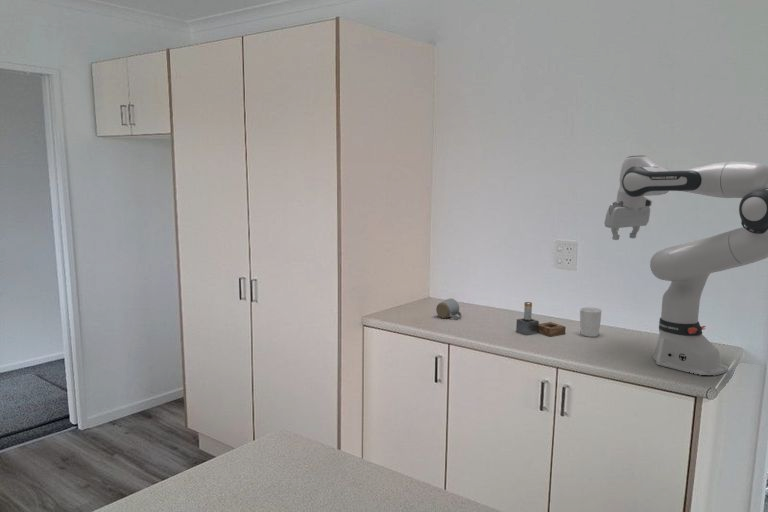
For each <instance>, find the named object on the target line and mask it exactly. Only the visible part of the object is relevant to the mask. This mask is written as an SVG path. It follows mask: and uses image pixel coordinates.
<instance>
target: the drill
mask: <svg viewBox="0 0 768 512" xmlns="http://www.w3.org/2000/svg"><path fill="white" fill-rule="evenodd" d="M523 303H524V310H523V311H524V313H523V314H524V315H523V318H524V321H526V322H529V321H531V319H532V314H533V313H532V311H533V310H532V309H533V303H532V302H530V301H526V302H523Z"/></svg>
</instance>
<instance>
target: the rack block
mask: <svg viewBox="0 0 768 512" xmlns="http://www.w3.org/2000/svg"><path fill="white" fill-rule="evenodd" d="M566 328H567V327H566V325H562V324H558V323H555V322H552V321H549V322H543V323H539V326H538V333H537V334H541V335H543V336H547V337H550V338H551V337H556V336H562V335H566Z"/></svg>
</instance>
